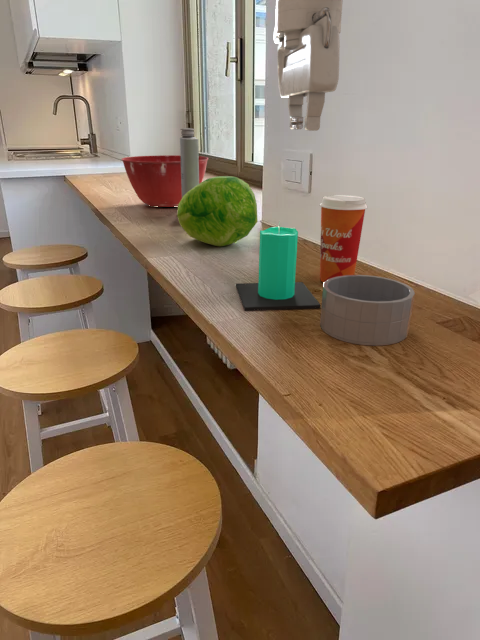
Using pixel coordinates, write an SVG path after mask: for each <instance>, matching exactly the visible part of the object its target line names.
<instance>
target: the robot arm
mask: <svg viewBox="0 0 480 640" xmlns="http://www.w3.org/2000/svg"><path fill="white" fill-rule="evenodd" d="M343 2H344V1H343V0H275V24H274V28H273V42H274V44H277V50H276V51H277V54H276V55H277V56H276V57H277V79H278V90H279V95H280V97H281V98H283V99H284V98H287V109H288V115H289V128H290V130H303V127H304V130H306V131H309V132H312V131H314V132H315V131H319V130H320V128H321V117H322V113H323V110H324V106H325V102H326V101H325V100H326V94H328V93H333V92H335V91H336V89H337V87H338V84H339V79H340V78H339V77H340V47H341V46H340V40H341V39H340V34H341V31H342V30H341V29H342V14H343ZM304 97H306V102H305V103H306V113H305V116H303V105H304Z"/></svg>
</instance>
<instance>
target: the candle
mask: <svg viewBox="0 0 480 640" xmlns="http://www.w3.org/2000/svg"><path fill="white" fill-rule="evenodd" d="M298 241H299V231H298V230H297V229H296V228H295V227H285V226H281V220H279V221H278V226H271V227H267V228H265V229H263V230H261V229H260V230H259V250H258V251H259V252H258V281H257V283H258V294H259V295H260V296H261V297H264V298H267V299H274V300H281V299H288V298H291V297H293V295H294V292H295V282H296V275H297V274H296V272H297V258H298Z"/></svg>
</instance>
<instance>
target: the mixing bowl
mask: <svg viewBox="0 0 480 640" xmlns="http://www.w3.org/2000/svg"><path fill="white" fill-rule="evenodd" d="M120 160H121V161H122V163H123V167H124V171H125V173H126V175H127V178H128V181H129V183H130V185H131V187H132V189H133V191H134V192H135V194H136V196H137V197H138V199H139V200H140V201H141V202H142V203H144V204H145V205H147V206H148V205H150V206H158V207H174V206H178V204H179V203H180V201H181V199H182V189H181V155H180V154H179V155H176V154H175V155H170V154H169V155H167V154H166V155H165V154H163V155H161V154H160V155H159V154H158V155H138V156H126V157H122V158H121V159H120ZM208 161H209V157H208V156H202V155H201V156H200V155H199V184H200V183H201V182H203V181H204V178H205V174H206V170H207V164H208ZM150 206H149V207H150Z"/></svg>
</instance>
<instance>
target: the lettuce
mask: <svg viewBox="0 0 480 640" xmlns="http://www.w3.org/2000/svg"><path fill="white" fill-rule="evenodd" d="M176 216H177V220H178V223H179V225H180V227H182V229H183V230H184V232H185V233H186V234H187V236H189V237H190V238H193V239H194V240H196V241H198V242H201V243H204V244H208V245H211V246H214V247H224V246H229V245H233V244H235V243H236V242H239V241H240V240H243V239H244V238H246V237H247V236H248V235H249V234H250V233H251V231H252V230H253V229H254V227H255V226H256V225H257V223H258V204H257V200H256V195H255V193H254V191H253V189H252V188H251V186H250V185H249V183H248V182H246V181H244V180H243V179H241V178H239V177H237V176H233V175H230V176H229V175H224V176H219V175H217V176H213V177H209V178H207V179H205V180H203V181H202V182H201V183H200V184H198V185H197V186H195V187H194V188H192V189H191V190H190V191H188V192H187V193H186V194H185V195H184V196H183V198H182V199H181V201H180V203H179V204H178V207H177V212H176Z"/></svg>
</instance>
